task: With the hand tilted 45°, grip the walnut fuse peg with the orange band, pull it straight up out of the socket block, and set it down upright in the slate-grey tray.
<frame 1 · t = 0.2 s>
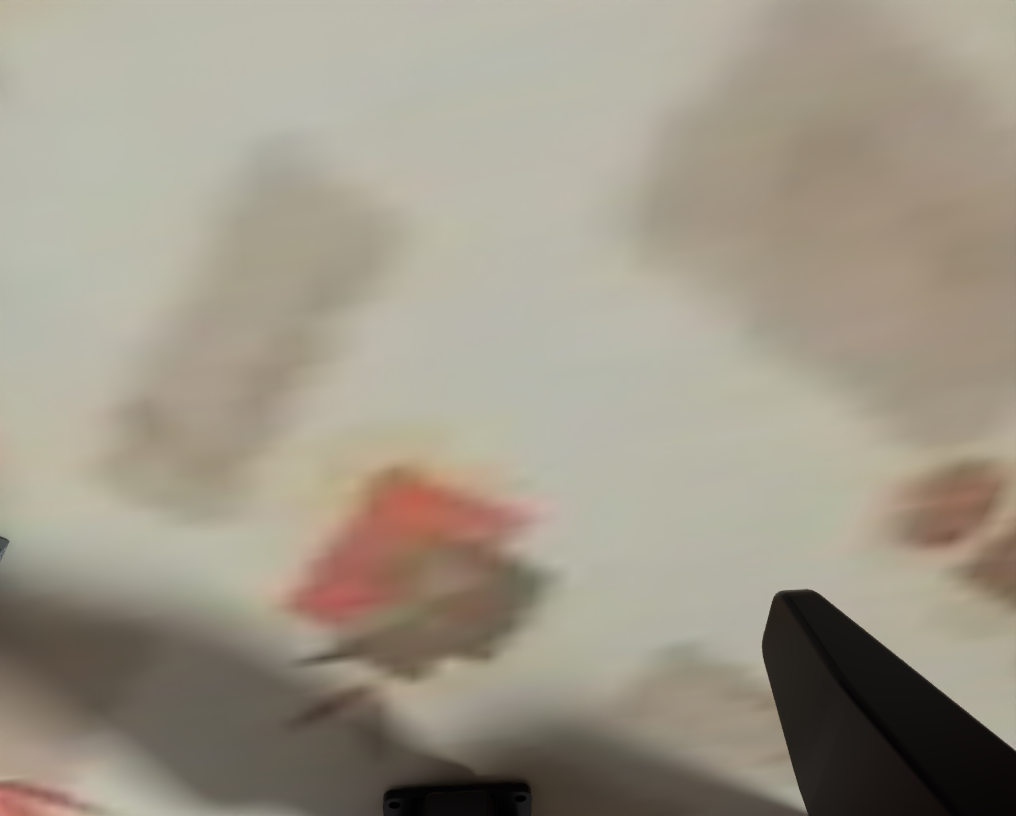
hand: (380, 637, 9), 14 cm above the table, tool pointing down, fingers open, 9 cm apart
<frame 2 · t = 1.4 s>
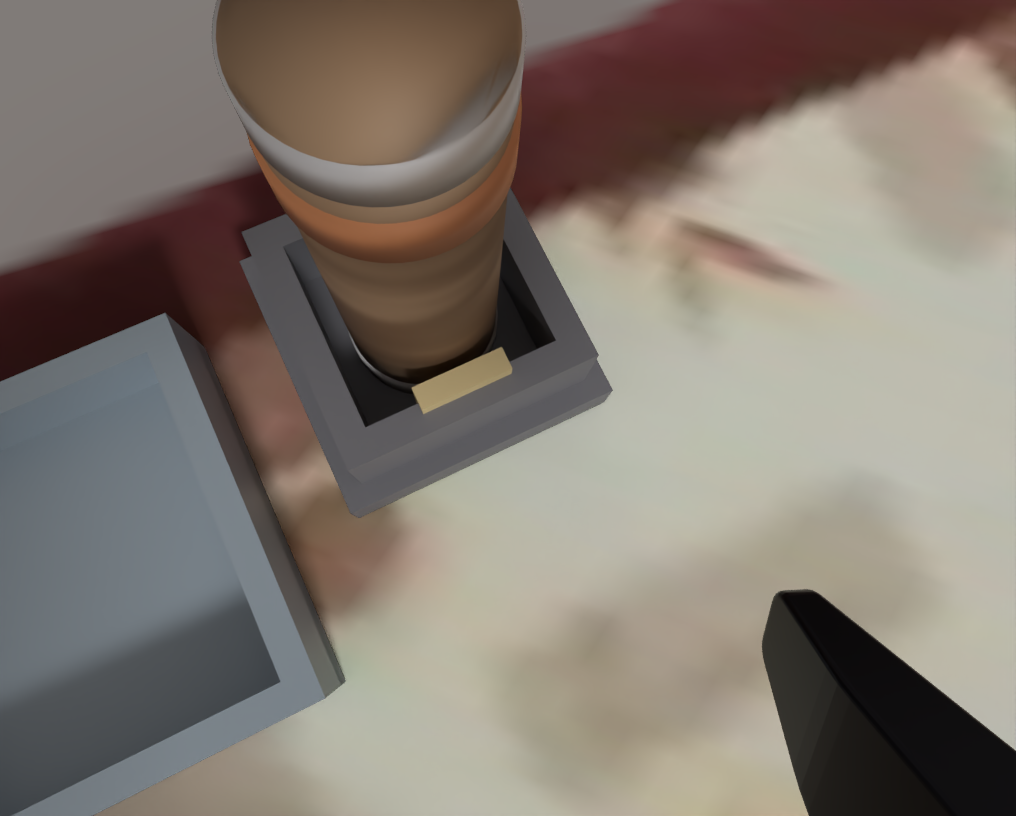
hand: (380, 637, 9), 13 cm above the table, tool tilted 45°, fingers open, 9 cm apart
tray: (92, 590, 21), on the table
fuse peg: (424, 325, 22), point 2 cm above the table, touching socket block
socket block: (427, 341, 23), on the table
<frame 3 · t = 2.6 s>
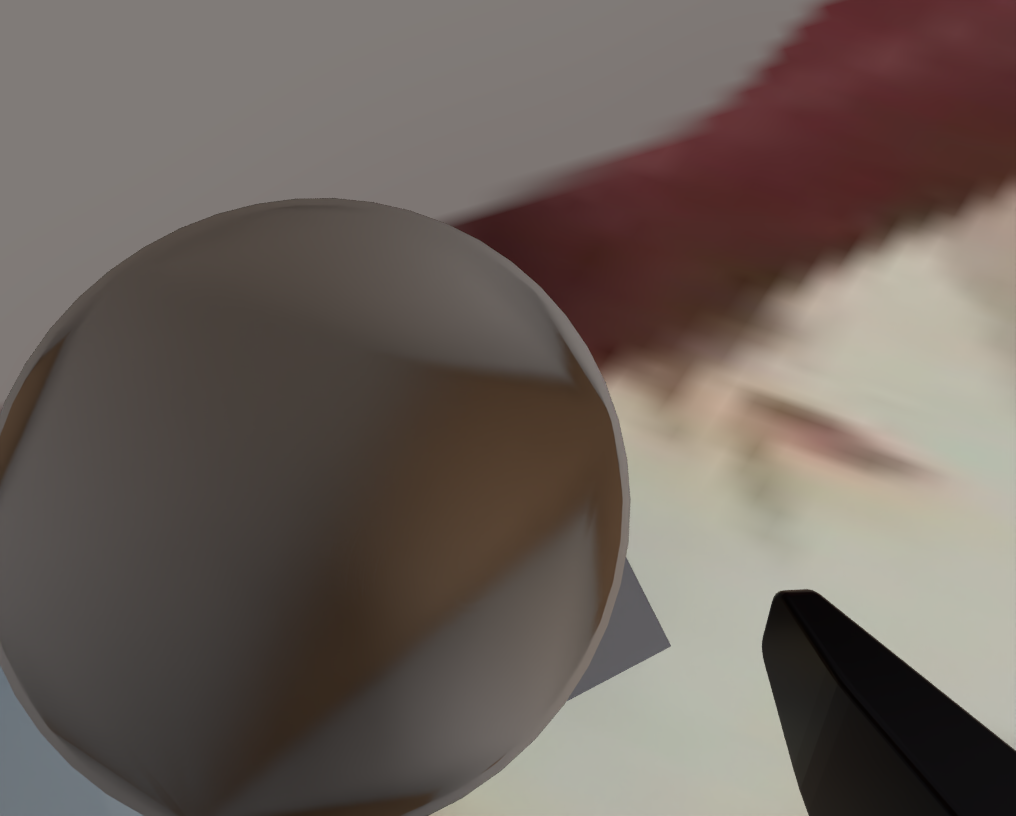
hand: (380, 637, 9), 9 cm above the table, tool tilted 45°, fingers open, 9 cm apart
fuse peg: (423, 557, 17), point 2 cm above the table, touching socket block
socket block: (427, 559, 18), on the table
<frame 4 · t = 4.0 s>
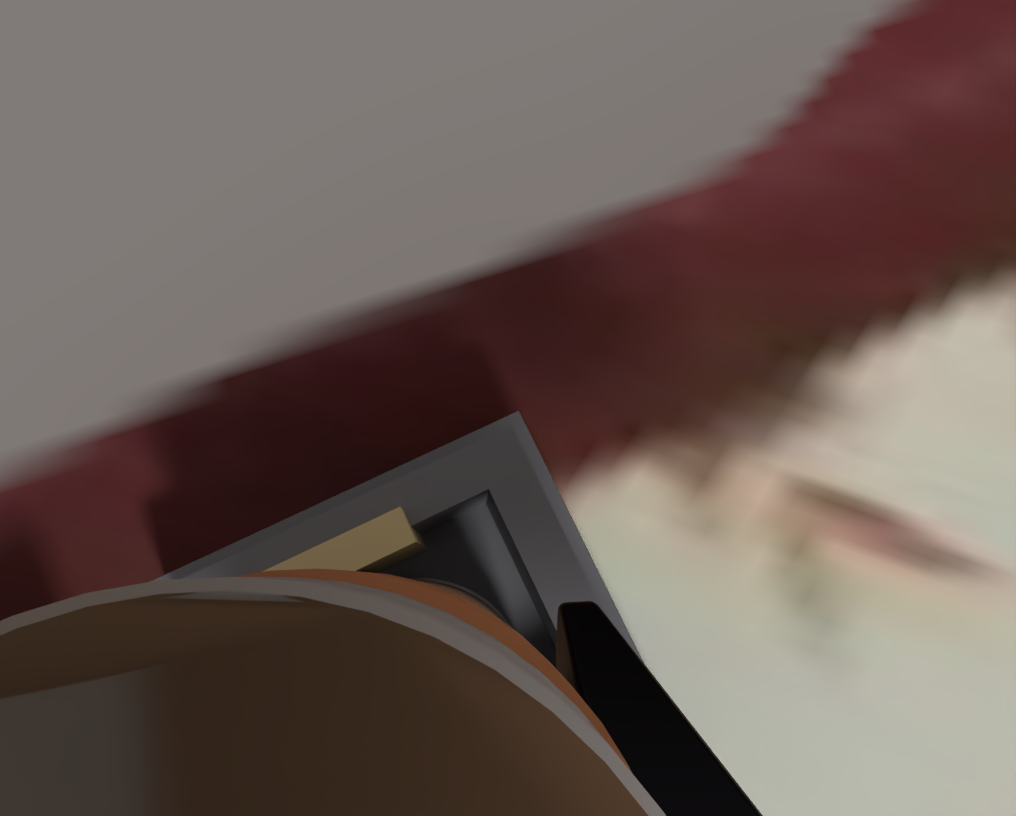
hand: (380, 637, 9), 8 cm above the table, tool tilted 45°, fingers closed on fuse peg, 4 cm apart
fuse peg: (419, 691, 14), point 2 cm above the table, touching socket block, gripper
socket block: (424, 680, 16), on the table
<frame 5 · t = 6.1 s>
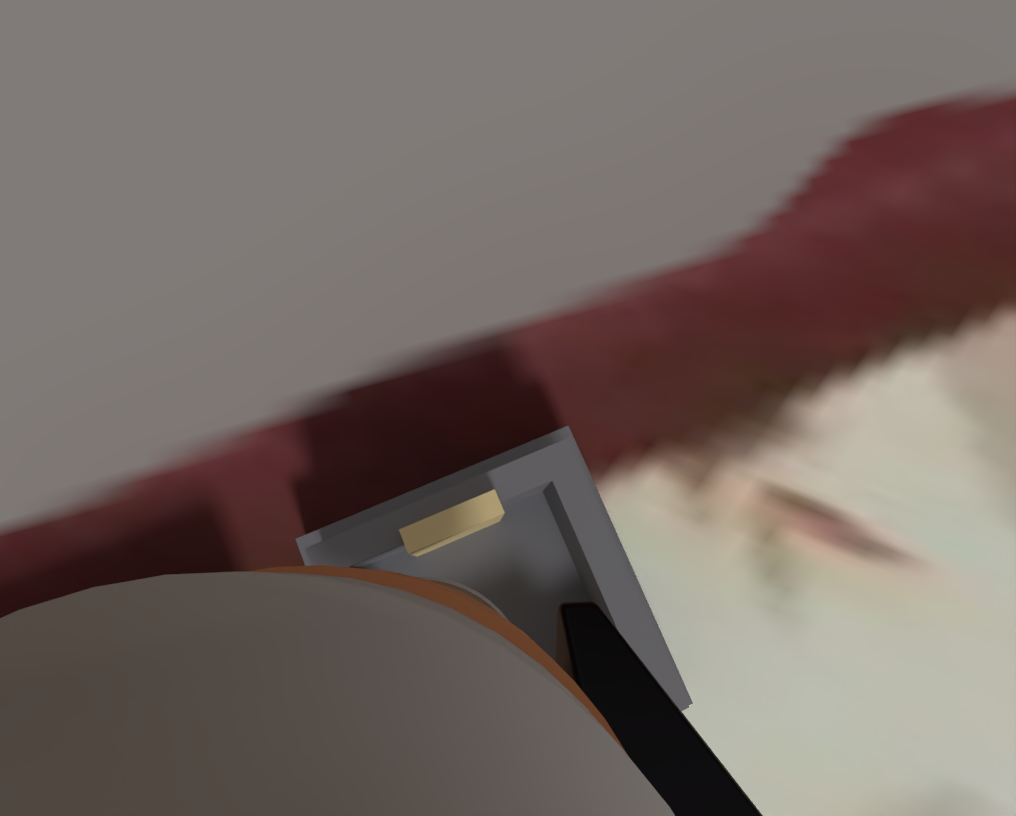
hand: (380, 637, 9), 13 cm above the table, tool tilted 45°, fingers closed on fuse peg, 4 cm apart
fuse peg: (420, 689, 14), point 7 cm above the table, touching gripper
socket block: (490, 617, 22), on the table
when the fingers open (8 cm above the table, at t = 8.3 s): fuse peg drops 1 cm, resting on tray.
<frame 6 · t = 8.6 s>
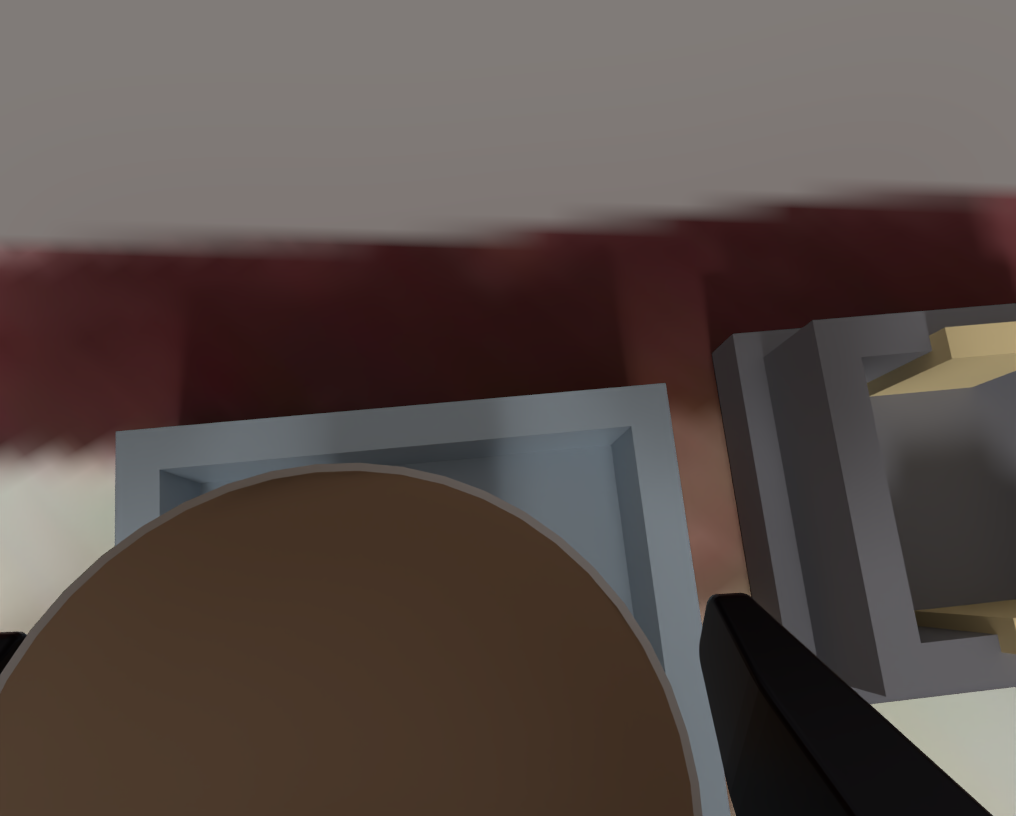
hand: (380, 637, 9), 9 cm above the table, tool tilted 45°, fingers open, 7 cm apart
tray: (427, 673, 17), on the table
fuse peg: (424, 681, 16), point 1 cm above the table, touching tray
socket block: (904, 501, 18), on the table
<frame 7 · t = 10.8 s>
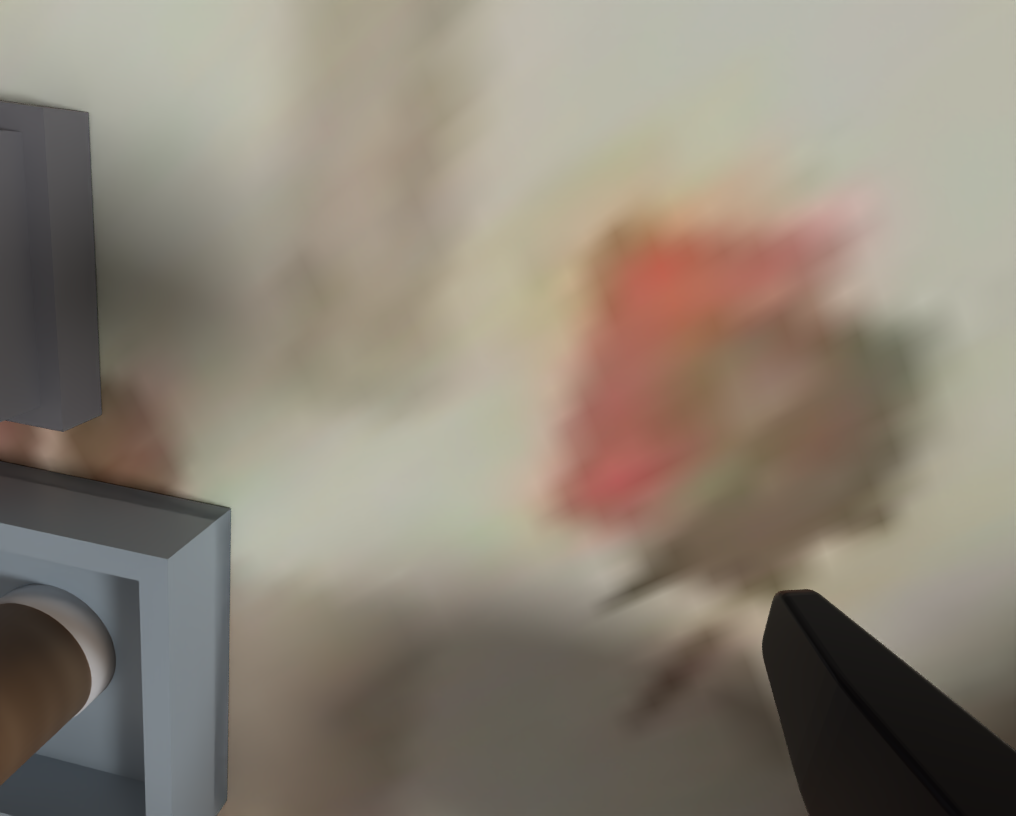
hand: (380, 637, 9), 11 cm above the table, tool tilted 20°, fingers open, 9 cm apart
tray: (72, 628, 24), on the table
fuse peg: (54, 643, 23), point 1 cm above the table, touching tray
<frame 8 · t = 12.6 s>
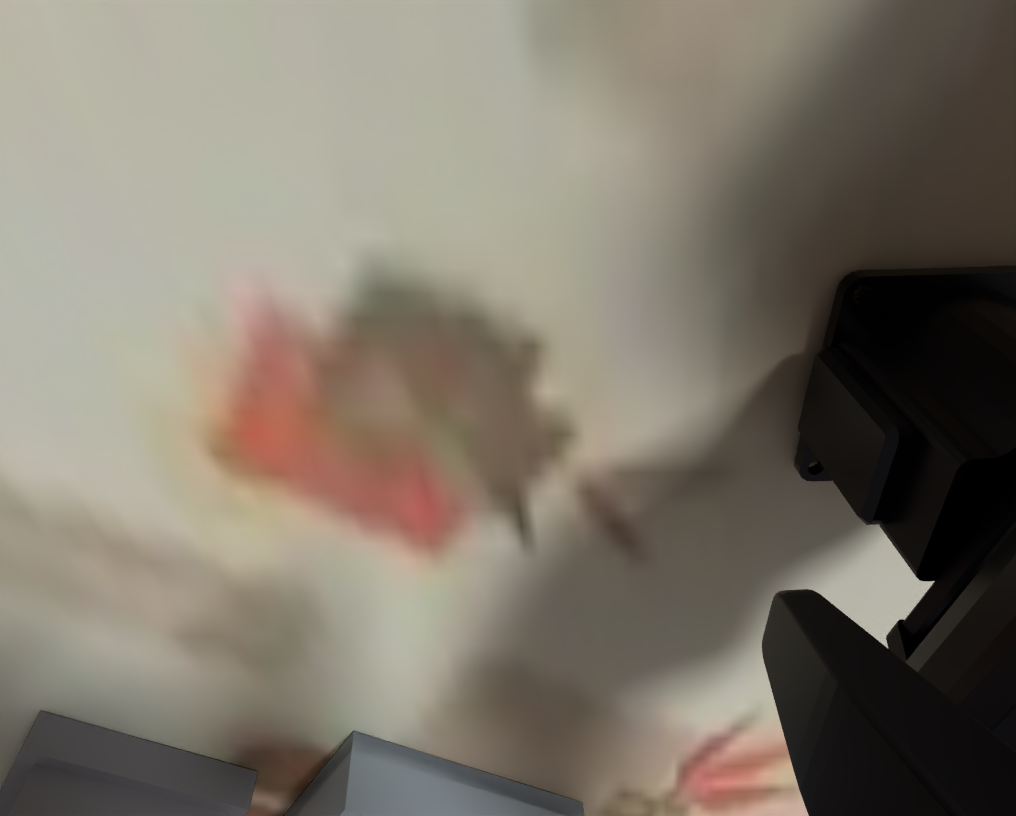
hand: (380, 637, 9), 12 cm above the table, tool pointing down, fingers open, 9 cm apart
socket block: (118, 798, 30), on the table
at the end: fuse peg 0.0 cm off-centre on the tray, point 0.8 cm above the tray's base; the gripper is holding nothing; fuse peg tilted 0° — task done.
